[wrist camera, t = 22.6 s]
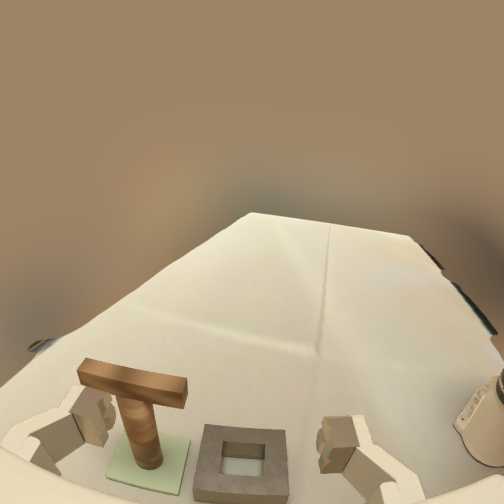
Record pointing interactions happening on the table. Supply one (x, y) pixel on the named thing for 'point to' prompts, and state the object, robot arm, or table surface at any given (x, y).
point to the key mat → (155, 480)
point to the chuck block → (241, 446)
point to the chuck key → (137, 403)
